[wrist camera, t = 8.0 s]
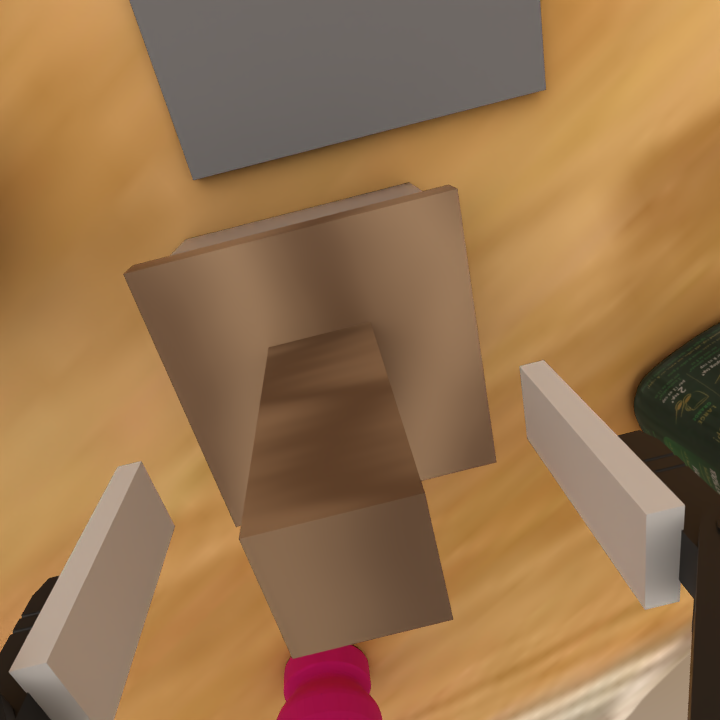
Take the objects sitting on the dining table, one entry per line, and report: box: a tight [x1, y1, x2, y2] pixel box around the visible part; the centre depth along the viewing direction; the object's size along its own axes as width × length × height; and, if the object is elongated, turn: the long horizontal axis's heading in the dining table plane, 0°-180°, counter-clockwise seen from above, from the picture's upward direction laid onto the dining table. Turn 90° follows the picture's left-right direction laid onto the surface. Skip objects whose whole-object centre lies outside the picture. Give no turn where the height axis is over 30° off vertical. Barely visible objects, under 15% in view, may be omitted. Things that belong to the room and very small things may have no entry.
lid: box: [123, 185, 496, 659], centre depth 17 cm, size 12×12×11 cm
